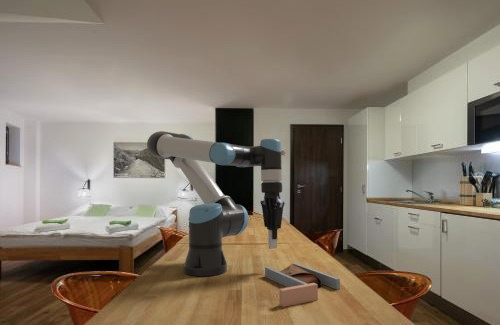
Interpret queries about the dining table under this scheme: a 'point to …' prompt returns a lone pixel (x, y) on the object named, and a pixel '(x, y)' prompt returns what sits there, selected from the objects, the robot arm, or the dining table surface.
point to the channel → (291, 281)
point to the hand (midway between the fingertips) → (273, 248)
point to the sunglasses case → (301, 275)
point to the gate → (298, 294)
